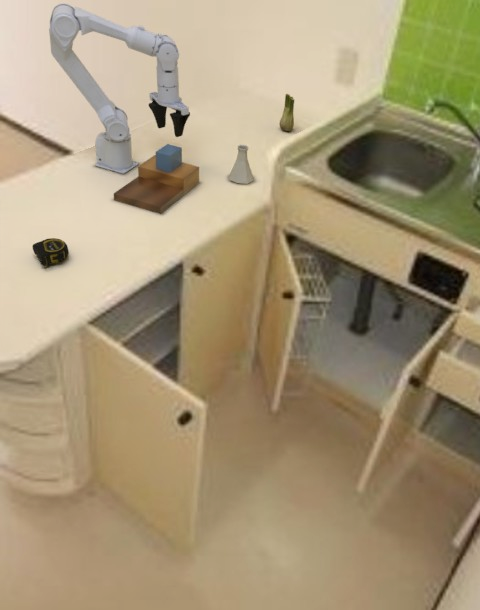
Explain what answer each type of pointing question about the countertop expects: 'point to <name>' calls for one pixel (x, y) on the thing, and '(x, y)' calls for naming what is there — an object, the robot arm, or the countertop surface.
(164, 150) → the blue box
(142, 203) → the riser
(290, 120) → the fennel bulb
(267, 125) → the countertop surface
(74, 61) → the robot arm
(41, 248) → the tape measure
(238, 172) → the flask
